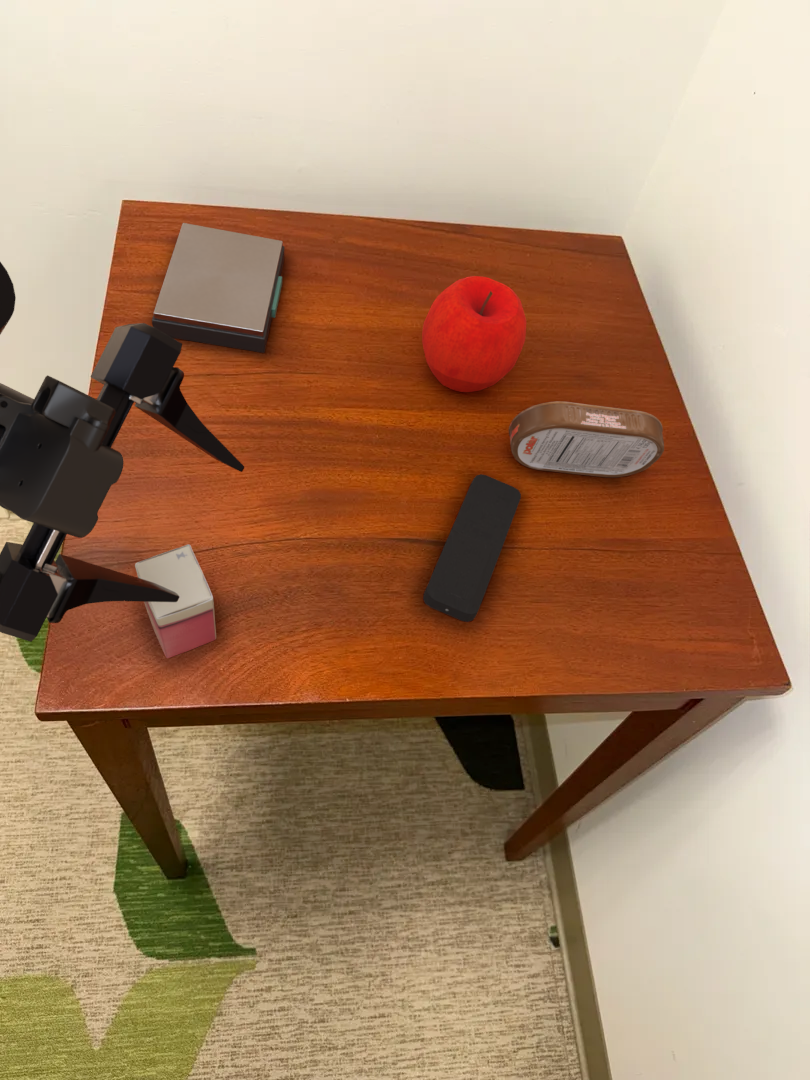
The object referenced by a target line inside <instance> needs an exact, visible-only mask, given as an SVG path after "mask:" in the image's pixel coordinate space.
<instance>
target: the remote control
mask: <svg viewBox="0 0 810 1080" xmlns="http://www.w3.org/2000/svg"><path fill="white" fill-rule="evenodd" d="M521 494H522V493H521V492H520V490H519V489H518V488H516V487H514V486H512V485H510V484H509V483H508V484H507V483H506V482H504V481H501V480H499V479H496V478H495V477H491V476H489V475H487V474H477V475H475V477H473V479H472V481H471V483H470V484H469V488H468V490H467V492H466V494H465V497H464V499H463V501H462V504H461V506H460V508H459V511H458V513H457V515H456V518H455V520H454V521H453V524H452V527H451V529H450V531H449V533H448V537H447V538H446V541H445V543H444V545H443V548H442V550H441V552H440V554H439V556H438V560H437V562H436V564H435V567H434V569H433V571H432V572H431V577H430V578H429V581H428V583H427V585H426V586H425V587H426V588H425V590H424V591H423V598H422V599H423V601H424V603H425V605H426V606H428V607H429V608H430V609H433V610H436V611H438V612H440V613H443V614H444V615H447V616H449V617H452V618H453V619H457V620H458V621H461V622H466V623H469V622H472V621H474V620H475V618H476V617H477V614H478V612H479V610H480V607H481V605H482V603H483V600H484V598H485V595H486V592H487V590H488V587H489V584H490V581H491V579H492V576H493V573H494V570H495V568H496V565H497V563H498V560H499V557H500V554H501V553H502V552H501V551H502V549H503V547H504V544H505V541H506V539H507V536H508V533H509V530H510V528H511V525H512V523H513V520H514V517H515V514H516V511H517V509H518V506H519V504H520V501H521V499H522V495H521Z"/></svg>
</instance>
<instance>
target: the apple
mask: <svg viewBox="0 0 810 1080" xmlns="http://www.w3.org/2000/svg"><path fill="white" fill-rule="evenodd" d="M527 322H528V321H527V318H526V314H525V311H524V308H523V304H522V300H521V298H520V297H519V296H518V295H517V293H516V292H515V291H514V290H513V289H512V288H511V287H509V286H508V285H506V284H504V283H502V282H500V281H498V280H494V279H492V278H490V277H487V276H480V275H479V276H477V275H469V276H467V277H462V278H460V279H457V280H456V281H455V282H453V283H451V284H450V285H449V286H447V287H446V288H445V289H443V291H441V292H440V293H439V294H438V295H437V296H436V297H435V299H434V301H433V302H432V303H431V305H430V308H429V310H428V312H427V315H426V317H425V318H424V321H423V323H422V332H421V341H422V343H421V344H422V348H423V353H424V356H425V361H426V364H427V366H428V367H429V369H430V371H431V373H432V375H433V376H434V377H435V378H436V380H437V381H438V382H439V384H441V385H442V386H443V387H446V388H448V389H450V390H452V391H456V392H461V393H474V392H479V391H483V390H485V389H488V388H490V387H492V386H495V385H496V384H497V383H498V382H500V380H502V379H504V377H505V376H506V375H508V374H509V373H510V372H511V371H512V370H513V369H514V367H515V365H516V363H517V361H518V359H519V357H520V355H521V352H522V350H523V347H524V345H525V342H526V337H527Z"/></svg>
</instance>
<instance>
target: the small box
mask: <svg viewBox="0 0 810 1080" xmlns="http://www.w3.org/2000/svg"><path fill="white" fill-rule="evenodd" d="M134 568H135V572H136V577H137V578H140V579H144V580H147V581H150V582H153V583H156V584H158V585H160V586H162V587H165V588H167V589H169V590H171V591H174V592H176V593H177V594H178V595H179V599H178V601H177V602H143V603H144V607H145V610H146V612H147V616H148V619H149V621H150V623H151V627H152V630H153V631H154V634H155V636H156V638H157V641H158V644H159V646H160V648H161V649H162V652H163V654H164V656H165V658H166V659H170V658H173V657H175V656H178V655H181V654H184V653H187V652H189V651H192V650H194V649H196V648H199V647H202V646H204V645H207V644H208V643H209V644H210V643H211V642H214V641H215V640H217V626H216V616H215V615H216V614H215V604H214V596H213V593H212V591H211V589H210V588H211V587H210V586H209V584H208V580H207V579H206V576H205V574H204V572H203V570H202V568H201V565H200V563H199V561H198V559H197V557H196V554H195V553H194V551H193V548H192V546H191V544H185V545H183V546H179V547H176V548H173V549H170V550H168V551H164V552H162V553H159V554H156V555H153V556H151V557H148V558H145V559H143V560H140V561H137V562H136V563H134Z"/></svg>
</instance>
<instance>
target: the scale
mask: <svg viewBox="0 0 810 1080" xmlns="http://www.w3.org/2000/svg"><path fill="white" fill-rule="evenodd" d="M284 263H285V245H284V242H283V240H280V239H275V238H268V237H262V236H257V235H251V234H247V233H242V232H241V233H240V232H237V231H230V230H225V229H219V228H213V227H208V226H203V225H197V224H192V223H187V222H182V223H181V226H180V230H179V233H178V236H177V238H176V241H175V246H174V248H173V251H172V254H171V258H170V261H169V263H168V266H167V270H166V273H165V276H164V280H163V283H162V286H161V289H160V292H159V294H158V297H157V301H156V304H155V307H154V310H153V315H152V319H151V324H152V325H151V326H152V327H154V328H156V329H158V330H160V331H161V332H163V333H165V334H167V335H168V336H170V337H172V338H173V339H176V340H182V341H188V342H189V341H190V342H195V343H201V344H207V345H213V346H220V347H226V348H231V349H239V350H244V351H250V352H256V353H262V354H264V353H266V349H267V344H268V338H269V334H270V329H271V323H272V320H273V318H274V319H275V318H276V317H277V311H278V307H279V302H280V297H281V292H282V287H283V276H282V274H283V273H282V272H283V268H284Z"/></svg>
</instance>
